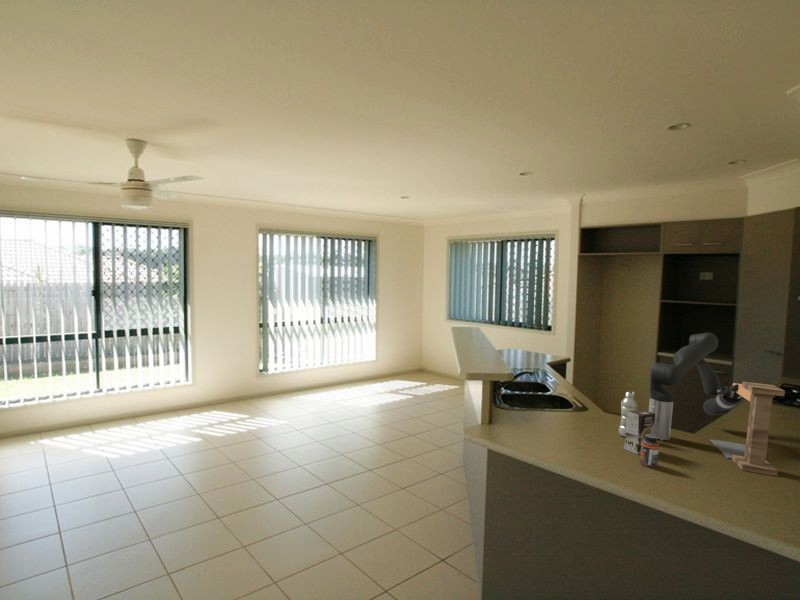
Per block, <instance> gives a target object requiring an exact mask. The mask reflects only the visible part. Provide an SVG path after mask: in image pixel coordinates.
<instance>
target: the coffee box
mask: <svg viewBox="0 0 800 600" xmlns="http://www.w3.org/2000/svg"><path fill="white" fill-rule="evenodd" d="M648 411H649V410H645V409H637V410H634V411H628V417H627V426H626V436H625V437H624V447H623V449H624V450H626V451H629V452H630V453H633V454H635V455H640V453H641V443H642V440H644V439H645V435H646V434H651V435H653V431H654V421H655V413H652V412H648Z"/></svg>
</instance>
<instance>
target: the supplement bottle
mask: <svg viewBox="0 0 800 600" xmlns="http://www.w3.org/2000/svg"><path fill="white" fill-rule="evenodd" d="M659 452H660V443H659V442H658V440H657V437H656V436H654V435H651V434H646V435H645V439H644V440H642V443H641V453H640V454H639V463H640V465H641V466H643V467H647V468H650V469H651V468H652V469H653V468H657V467H658V463H659V462H658V461H659Z"/></svg>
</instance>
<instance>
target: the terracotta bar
mask: <svg viewBox="0 0 800 600" xmlns="http://www.w3.org/2000/svg"><path fill="white" fill-rule="evenodd" d="M736 384H738V385H739V387H738V388H739V389H738V390H737V391H736V393H738V394H739V395H741V396H742V397H744V398H743V399H745V400H747V401H748V402H750V403H751V394H752V392H750V391H749V390H747V389H745V388H744V387H742V383H735V382H733V383H732V386H734V385H736Z"/></svg>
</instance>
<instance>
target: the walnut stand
mask: <svg viewBox="0 0 800 600" xmlns="http://www.w3.org/2000/svg"><path fill="white" fill-rule="evenodd" d="M741 384H742V387H744V388H745V389H747V390H749V391H750V392H752V394H751V402H750V404H749V405H750V406H749V415H748V420H747V430H746V432H747V433H746V440H745V441H746V442H745V445H746V448H745V457H744V456H738V455H733V456H732V459H731V460H732V461H733V462H734V464H736V465H737V467H738V468H739V469H741V470H742V471H744V472H750V473H751V472H752V473H757V474H763V475H769V476H774V475H775V476H774V477H778V473H779V471H778V469H776V468H775V467H774V466H773V465H772V464H771V463H770V462H768V461H767V459H766V457H767V452H768V451H767V450H768V441H769V433H770V432H769V431H770V425H771V414H772V408H773V406H772V405H773V398H774V396H778V397H779V396H780V397H785V392H786V390H784V389H782V388H780V387H777V386H776V385H773V384H767V383H758V382H750V381H749V382H748V381H742V383H741Z"/></svg>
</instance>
